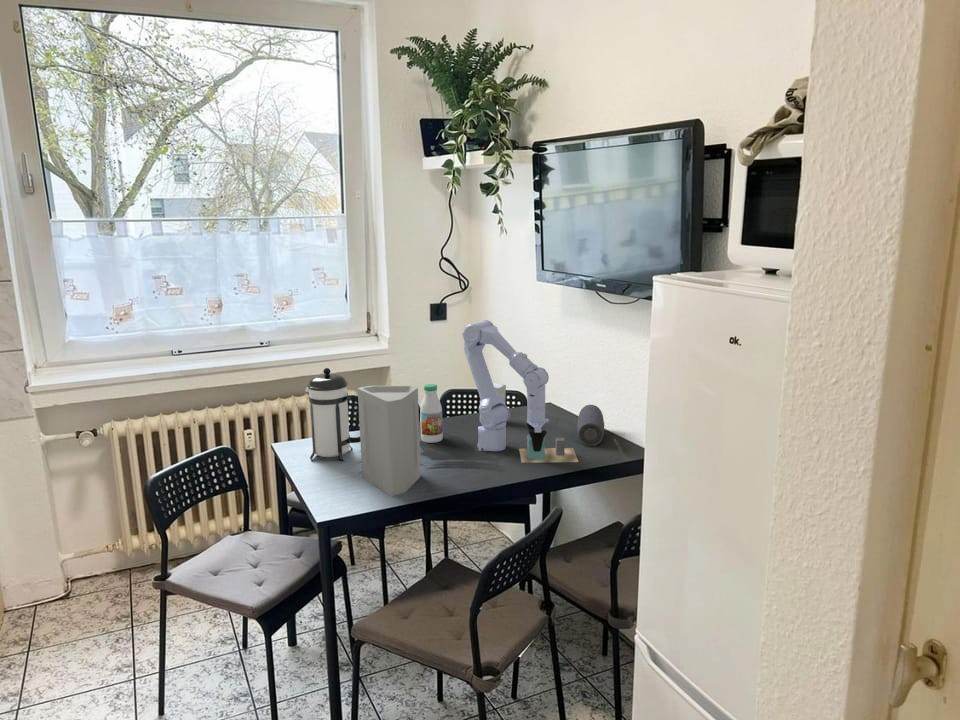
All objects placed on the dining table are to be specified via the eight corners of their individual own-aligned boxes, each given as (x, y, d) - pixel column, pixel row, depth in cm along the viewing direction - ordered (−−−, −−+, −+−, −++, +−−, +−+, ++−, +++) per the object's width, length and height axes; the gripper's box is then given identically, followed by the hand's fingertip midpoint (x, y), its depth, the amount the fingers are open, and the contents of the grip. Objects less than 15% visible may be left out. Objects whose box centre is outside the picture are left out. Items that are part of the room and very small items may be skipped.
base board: (521, 467, 222) (521, 462, 221) (519, 452, 234) (519, 448, 234) (578, 466, 222) (578, 461, 221) (572, 452, 234) (573, 448, 234)
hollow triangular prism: (435, 483, 209) (433, 393, 203) (391, 496, 201) (387, 401, 195) (403, 465, 224) (400, 380, 218) (361, 476, 216) (356, 388, 210)
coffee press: (319, 468, 223) (314, 376, 216) (302, 454, 236) (296, 366, 229) (370, 457, 232) (365, 368, 226) (350, 444, 245) (346, 360, 239)
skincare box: (479, 422, 267) (479, 384, 264) (486, 418, 273) (486, 381, 269) (499, 425, 264) (499, 387, 260) (506, 421, 269) (506, 383, 266)
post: (556, 455, 227) (556, 440, 226) (555, 452, 230) (555, 438, 229) (564, 455, 227) (564, 440, 226) (563, 452, 230) (563, 437, 229)
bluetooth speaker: (604, 450, 236) (605, 422, 234) (576, 449, 237) (577, 421, 235) (603, 429, 258) (604, 403, 256) (577, 428, 259) (578, 402, 257)
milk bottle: (416, 439, 249) (414, 385, 245) (433, 434, 254) (432, 381, 250) (429, 444, 243) (428, 389, 239) (447, 439, 248) (446, 385, 244)
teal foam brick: (528, 459, 224) (528, 439, 223) (527, 453, 229) (527, 434, 228) (544, 459, 224) (544, 439, 223) (543, 453, 229) (543, 434, 228)
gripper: (551, 412, 216) (550, 454, 219) (546, 400, 230) (546, 439, 233) (528, 413, 216) (528, 455, 219) (525, 400, 230) (525, 440, 233)
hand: (536, 447), depth 226 cm, fingers open, 7 cm apart
